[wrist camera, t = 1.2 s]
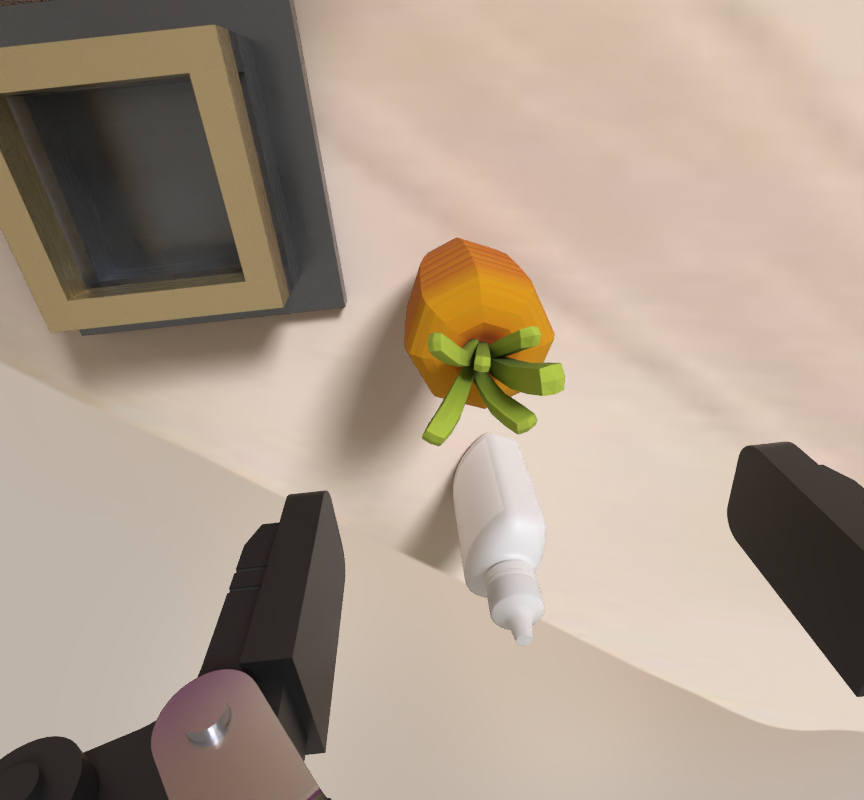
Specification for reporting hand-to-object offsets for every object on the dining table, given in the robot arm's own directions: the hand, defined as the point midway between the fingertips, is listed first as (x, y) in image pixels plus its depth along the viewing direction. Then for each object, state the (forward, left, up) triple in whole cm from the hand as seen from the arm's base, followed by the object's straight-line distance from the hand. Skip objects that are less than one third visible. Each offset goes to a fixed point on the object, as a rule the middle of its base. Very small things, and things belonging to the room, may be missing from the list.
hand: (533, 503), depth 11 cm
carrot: (0, 0, -19) cm, 19 cm away
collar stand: (-5, -12, -18) cm, 22 cm away
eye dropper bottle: (+13, +1, -19) cm, 23 cm away
